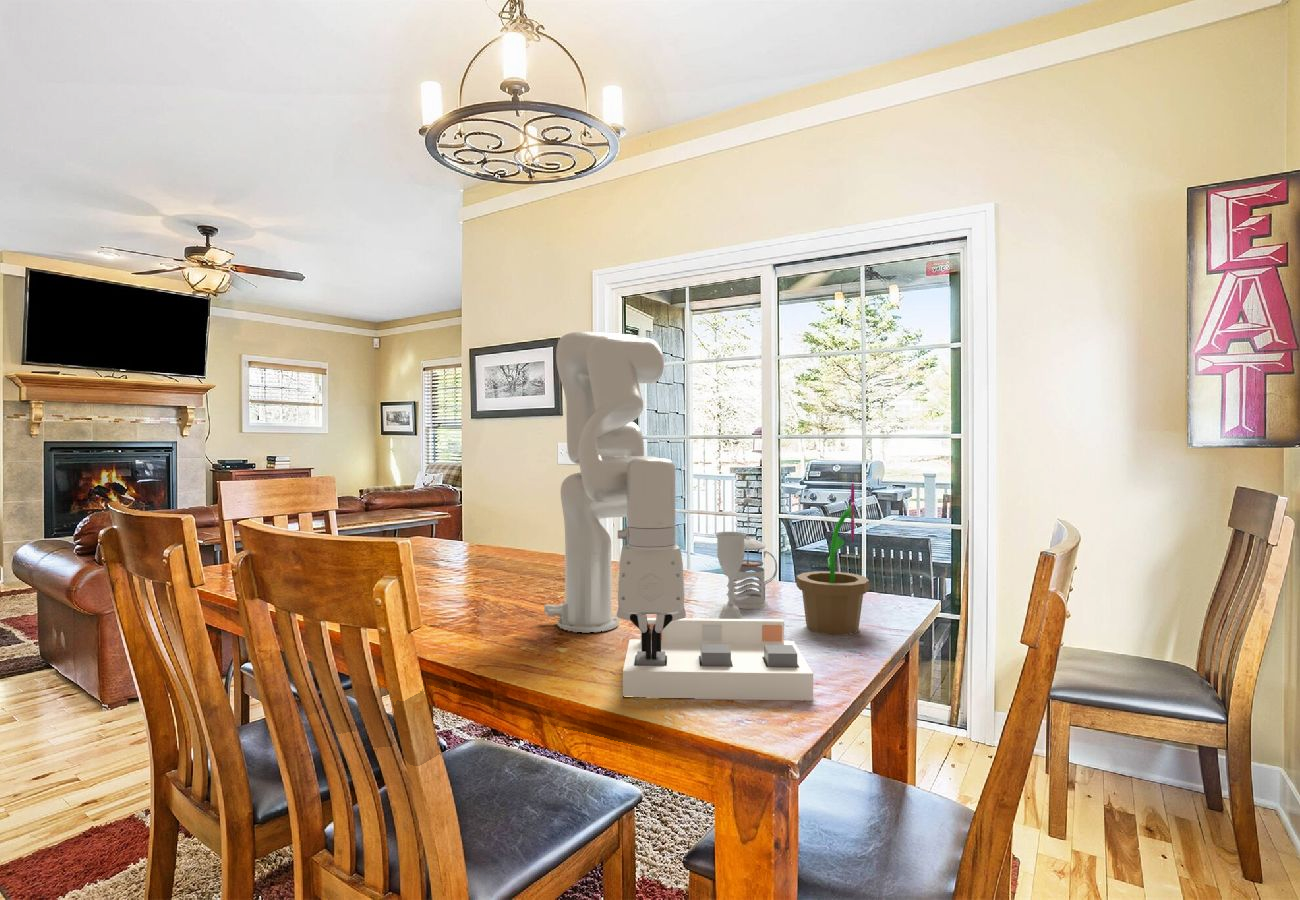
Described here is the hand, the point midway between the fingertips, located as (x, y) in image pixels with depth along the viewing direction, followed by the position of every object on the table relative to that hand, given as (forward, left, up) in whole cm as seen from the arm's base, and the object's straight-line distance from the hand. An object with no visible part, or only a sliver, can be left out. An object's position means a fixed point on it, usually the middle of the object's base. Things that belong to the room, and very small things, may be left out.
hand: (651, 655), depth 104 cm
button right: (+20, 0, -2) cm, 20 cm away
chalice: (+16, +42, -5) cm, 45 cm away
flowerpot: (+36, +34, -5) cm, 50 cm away
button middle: (+10, 0, -2) cm, 10 cm away
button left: (0, 0, -3) cm, 3 cm away
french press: (+22, +54, -5) cm, 59 cm away
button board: (+10, +3, -5) cm, 11 cm away
